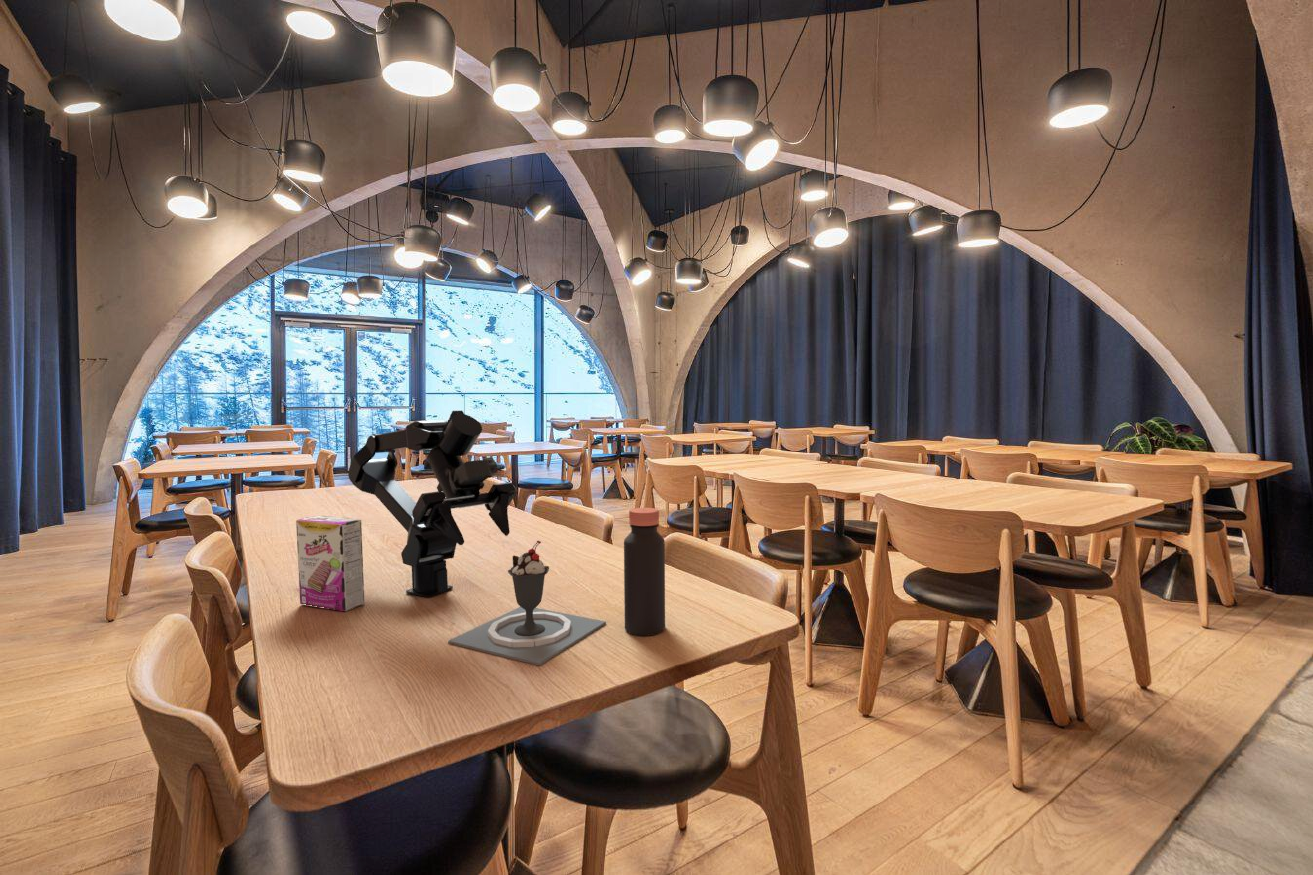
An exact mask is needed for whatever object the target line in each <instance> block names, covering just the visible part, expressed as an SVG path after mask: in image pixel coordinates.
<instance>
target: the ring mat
mask: <svg viewBox="0 0 1313 875" xmlns="http://www.w3.org/2000/svg"><path fill="white" fill-rule="evenodd" d="M533 619H534V622H535V623H536V624H541V625H543V626H544V627H545V630H544V631H543V632H542V633H540V634H537V635H532V636H522V635H518V634H516V633H515V631H514V630H515V629H516V628H517V627H518V626H520V625H524V623H525V621H526V610H525V609H523V608H522V607H520V606H518V607H517V608H515V609H513V610H510V611H508V612H507V613H504V614H501V615H500V616H497V617H496V618H493V619H491V620H489V621H487V622H485V623H482V624H481V625H478V626H476V627H474V628H473V629H470V630H467V631H465V632H464V633H462V634H460V635H457V636H455V637H453V638H451V639H449V640H447V643H448V644H450V645H455V646H457V647H458V646H459V647H463V648H466V649H470V650H473V651H474V650H475V651H477V652H482V653H487V654H490V655H491V654H492V655H493V656H494V655H495V656H498V657H503V658H505V659H506V658H507V659H510V660H515V661H519V662H523V663H526V664H530V665H534V666H542V665H543V664H545V663H546V662H548V661H549V660H551V659H553V658H554V657H556V656H557V655H560V654H561V653H562V652H564V651H565V650H567V649H568V648H570V647H572V646H573V645H575V644H576V643H578V642H579V641H581V640H582V639H584V638H586V637H588V636H589V635H590V634H592V633H594V632H595V631H597V630H598V629H600V628H602V627H604V626H605V625H606V624H607V620H606V621H605V620H600V619H595V618H591V617H584V616H580V615H574V614H569V613H565V612H559V611H554V610H547V609H544V608H538V607H536V608H535V609H534V610H533Z"/></svg>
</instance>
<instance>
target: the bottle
mask: <svg viewBox="0 0 1313 875" xmlns="http://www.w3.org/2000/svg"><path fill="white" fill-rule="evenodd" d="M628 517H629V518H628V520H629V527H630V528H631V529H630V530H631V531H630V533H628V535H627V536H626V537H625V538H624V540H623V561H624V562H623V580H624V581H623V587H624V589H623V590H624V595H623V596H624V597H623V598H624V600H623V601H624V602H623V604H624V629H625V631H626V632H627V633H629V634H631V635H634V636H638V637H640V636H641V637H649V636H655V635H658V634H660V633H662V632H664V630H665V628H666V575H665V574H666V567H665V566H666V558H665V556H666V555H665V554H666V553H665V552H666V549H665V546H666V544H665V543H666V542H665V541H666V540H665V538H664V537H663V536H662V535H661V534H660V533H659V532H658V527H659V524H660V510H659V509H658V508H654V507H635V508H631V509H629V511H628Z"/></svg>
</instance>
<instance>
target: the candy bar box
mask: <svg viewBox="0 0 1313 875" xmlns="http://www.w3.org/2000/svg"><path fill="white" fill-rule="evenodd" d="M295 525H296V540H297V541H296V542H297V543H296V544H297V549H296V550H297V562H298V568H297V569H298V583H299V584H298V586H299V587H298V588H299V605H300V604H306V605H312V606H317V607H324V608H329V609H335V610H334V611H336V610H341V611H340V612H342V611H346V612H348V611H347V610H349V609H352V608H354V607H356V608H358V607H360V605H361V606H363V605H365V583H364V582H365V581H364V563H363V562H364V557H363V533H362V519H359V518H349V517H337V516H327V515H313V516H309V517H308V516H307V517H304V518H299V519H297V520H295ZM357 606H358V607H357ZM329 609H328V610H329ZM354 609H355V608H354ZM352 610H353V609H352ZM349 611H350V610H349Z"/></svg>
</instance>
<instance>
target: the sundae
mask: <svg viewBox="0 0 1313 875" xmlns="http://www.w3.org/2000/svg"><path fill="white" fill-rule="evenodd" d="M541 543H542V542H541V540H536V543H534V545H533V547H532V548H530V549H528V550H527V551H528V552H525V553H522V554H521V555H520V556H517V555H512V567H510V569H508V570H507V572H508V573H507V574H509V575H510V576H511V577H512V582H513V589H514V595H515V600H516V603H517V605H518V607H522V608H523V609H525V610H526V621H525V623H524V625H520V626H518V627H517V628H516V629H515V630H514V631H515V633H516V634H518V635H522V636H532V635H537V634H540V633H542V632H543V631H544V630H545V627H544V626H543V625H541V624H536V623H535V622H534V619H533V610H534V609H535V608H538V606H539V605H540V603H541V602H542V598H543V593H544V585H545V584H544V582H545V576H546V575H547V574H548V572H549V570H550V566H548V565H544V563H543V561H542V560H540V555H539V554H538V553H537V551H536V550H537V547H538V546H539V545H541Z"/></svg>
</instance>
